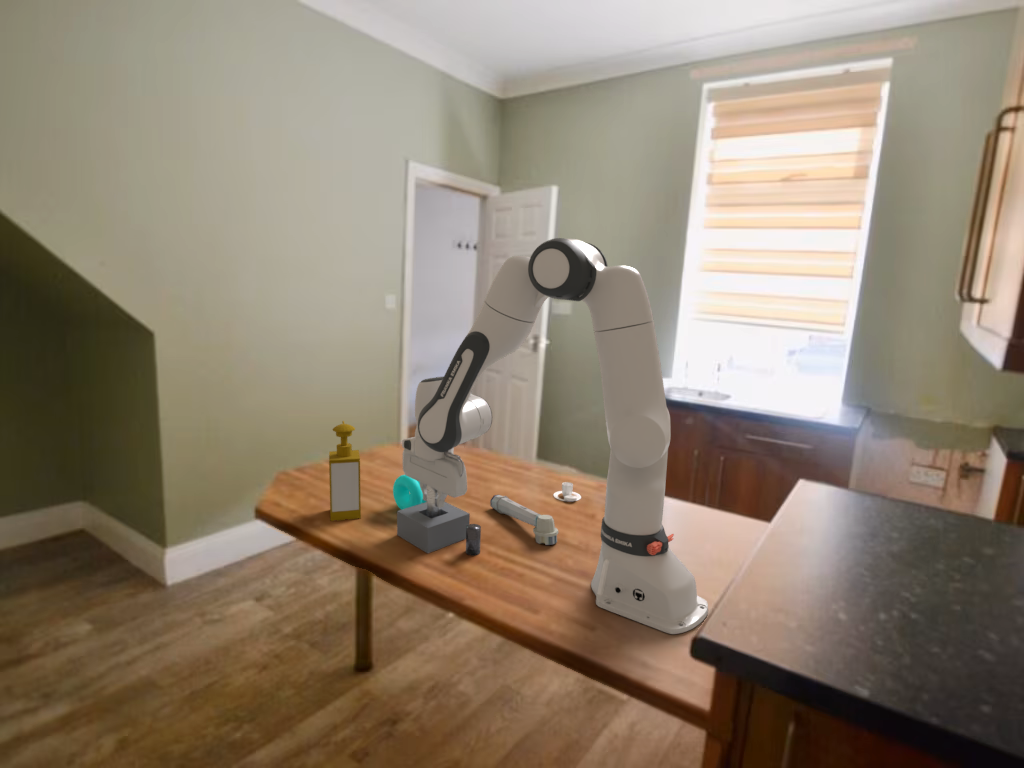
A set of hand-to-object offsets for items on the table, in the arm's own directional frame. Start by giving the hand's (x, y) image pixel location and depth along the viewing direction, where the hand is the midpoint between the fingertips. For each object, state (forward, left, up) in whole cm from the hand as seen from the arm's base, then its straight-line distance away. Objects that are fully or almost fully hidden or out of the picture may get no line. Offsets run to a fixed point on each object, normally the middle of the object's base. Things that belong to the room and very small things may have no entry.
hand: (433, 503), depth 130 cm
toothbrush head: (-9, -21, -9) cm, 24 cm away
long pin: (0, 0, -7) cm, 7 cm away
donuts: (+16, -7, -8) cm, 19 cm away
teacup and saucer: (-4, -41, -9) cm, 43 cm away
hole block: (0, 0, -8) cm, 8 cm away
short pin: (-12, -2, -8) cm, 15 cm away
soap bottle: (+27, +8, -8) cm, 29 cm away
